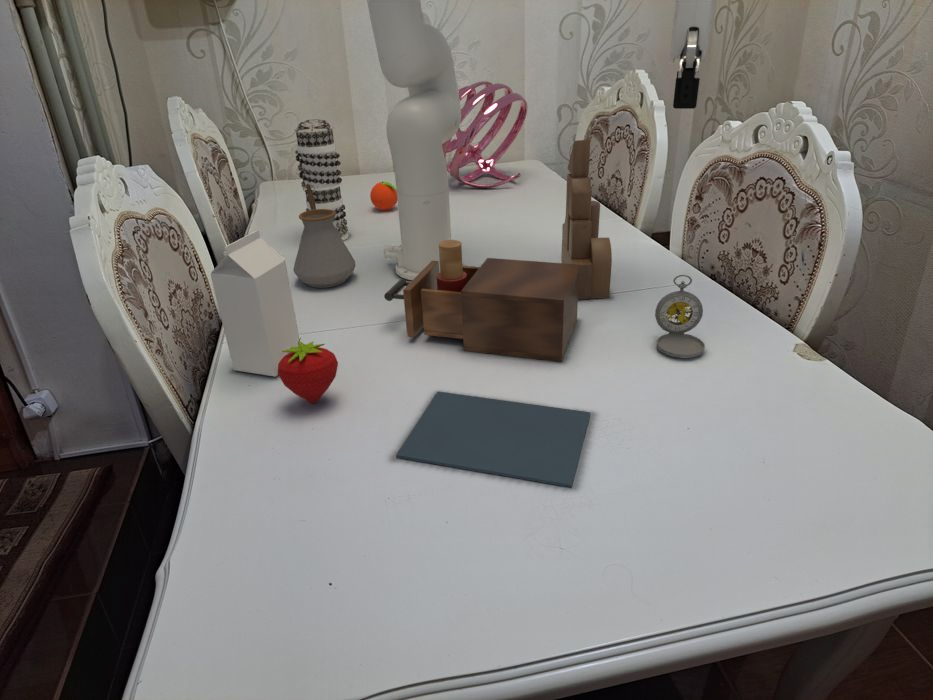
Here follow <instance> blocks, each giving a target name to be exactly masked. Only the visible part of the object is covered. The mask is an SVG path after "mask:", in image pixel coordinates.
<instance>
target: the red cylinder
mask: <svg viewBox="0 0 933 700" xmlns="http://www.w3.org/2000/svg"><path fill="white" fill-rule="evenodd" d="M439 259H440V273H438V274H437V290H443V291H454V292H461V290H462V289H463V288H464V287H465V285H466V284H467V274H466V273H465V272H463V266H464V265H463V246H462V242H461V241H460V240H455V239H451V240H446V241H442V242H440V243H439Z"/></svg>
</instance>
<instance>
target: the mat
mask: <svg viewBox="0 0 933 700" xmlns="http://www.w3.org/2000/svg"><path fill="white" fill-rule="evenodd" d="M590 417H591V411H583V410H577V409H570V408H560V407H554V406H547V405H546V406H545V405H539V404H533V403H532V404H531V403H527V402H526V403H524V402H519V401H510V400H504V399H496V398H489V397H482V396H474V395H466V394H460V393H459V394H458V393H452V392H445V391H436V393H435V394H434V396H433V398H432V399H431V400H430V402H429V404H428V406H427V407H426V408H425V410H424V411H423V413H422V414H421V416H420V418H419V419H418V421H417V422H416V424H415V425H414V427H413V428H412V430H411V431H410V433H409V435H408V436H407V437H406V439H405V440H404V442H403V444H402V445H401V446H400V449H399V450H398V451H397V453H396V454H395V457H396V458H397V459H402V460H409V461H413V462H414V461H415V462H420V463H426V464H432V465H437V466H444V467H450V468H456V469H461V470H466V471H473V472H477V473H478V472H479V473H484V474H490V475H496V476H503V477H509V478H515V479H520V480H524V481H532V482H538V483H541V484H542V483H543V484H548V485H549V484H550V485H554V486H559V487H560V486H561V487H566V488H573V483H574V480H575V476H576V472H577V468H578V465H579V459H580V457H581V452H582V448H583V444H584V440H585V436H586V433H587V429H588V424H589V421H590Z"/></svg>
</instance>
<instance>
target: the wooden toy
mask: <svg viewBox="0 0 933 700" xmlns="http://www.w3.org/2000/svg"><path fill="white" fill-rule="evenodd" d="M590 156H591V140H589V139H581V140H574V141H573V144H572V148H571V152H570V156H569V160H568V164H567V170H568V172H569V173H568V174H566V196H565V197H566V199H565V216H564V222H563V223H562V229H561V230H562V231H561V255H560V256H561V257H560V263H565V264H579V265H580V267H579V288H578V301H580V300H591V299H609V298H610V291H611V279H612V278H611V277H612V266H613V265H612V264H613V257H612V256H613V254H612V253H613V252H612V243H611V239H610V237H608V236H607V237H599V230H600V215H601V214H600V213H601V203H600V202H599V201H598V200H597V201H596V200H592V196H593V195H592V193H593V191H592V181H591V178H590V176H589V175H590Z"/></svg>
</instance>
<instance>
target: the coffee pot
mask: <svg viewBox="0 0 933 700" xmlns="http://www.w3.org/2000/svg"><path fill="white" fill-rule="evenodd" d="M305 186H306V188H307V190H306V191H305V189H304V187H305ZM305 186H304V187H303V188H302V190H303V191H304V192H307V194H308V201H309V204H310V207H311V210H309V211H306V210H305V211H303V212H301V213H299V214H298V219H299V220H301V222H302V224H303V230H302V234H301V237H300V243H299V246H298V250H297V253H296V257H295V261H294V265H293V269H292V270H293V273H294V274H295V276H296V277H297V278H298V279H299V280H300V281H301V282H303V283H305V284H306V285H307V286H309V287H311V288H317V289H324V288H332V287H333V288H334V287H336V286H340V285H342V284H343V283H345V282H346V281H347V280H348V278H350V276H351V275H352V274H353V272H354V271H355V269H356V260H355V259H354V257H353V255H352V253H351V252H350V250H349V248H348V247H347V245H346V243H345V242H344V240H342V238H341V237H340V235H339V233H338V232H337V230H336V228H335V227H334V225H333V220H334V217H335V215H336V213H337V212H336V211H333V210H329V209H316V205H315V198H314V196H313V194H312V193H313V191H314V190H312V189H311V186H313V185H309V184H307V185H305ZM313 187H314V186H313ZM314 189H315V187H314Z"/></svg>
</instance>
